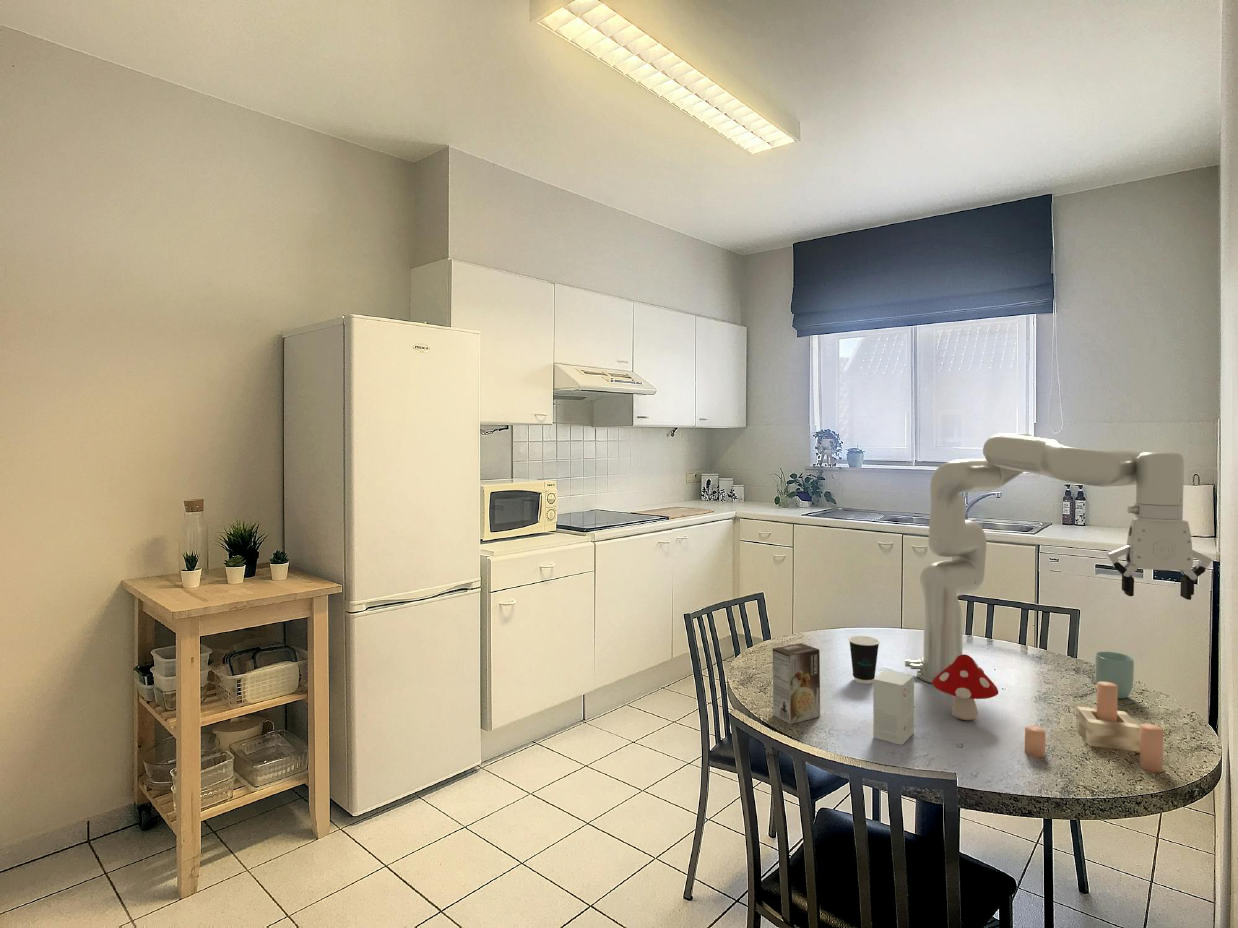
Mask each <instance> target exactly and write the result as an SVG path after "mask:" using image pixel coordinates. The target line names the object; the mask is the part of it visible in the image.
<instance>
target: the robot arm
mask: <svg viewBox="0 0 1238 928" xmlns="http://www.w3.org/2000/svg"><path fill="white" fill-rule="evenodd" d="M982 453H983V457H984V458H963V459H961V458H960V459H954V460H949V461H948V462H945V463H943V464H941V465H940V466H939V467H938V468H936V470H935V471H934V472H933V473H932V476H931V478H930V483H929V485H930V486H929V487H930V489H929V490H930V492H929V493H930V511H929V523H928V524H929V525H928V527H929V529H928V547H929V549H930V551H931V553H932V554H934V555H935V556H937V557H940V558H941V557H942V558H951V559H948V560H942V561H941V560H940V561H936V562H932V563H930V564H928V565H926V566H925V567H924V568H923V569H922V571H921V572H920V576H919V577H920V580H919V583H920V584H919V585H920V589H921V592H922V600H923V602H922V603H923V656H921V659H917V660H913V659H904V667H907V668H910V670H916V674H917V677H918V678H919V679H920V680H922V681H924V682H927V683H929V684H932V681H933V679H934V678H935V677H936V676H937V675H938V674H939V673H941V672H942V671H943V670H944V669H946V668H947V667H948V666H949V665H950V664H951V661H952V660H953V659H954V658H955V657H957V656H960V655H963V643H964V641H963V640H964V637H963V635H964V633H963V632H964V631H963V629H964V615H963V608H962V605H961V604H960V601H959V596H963V595H964V596H965V595H969V594H970V595H971V594H973V593H976V592H977V591H978V590H980V588H981V587H982V586H983V583H984V579H985V571H986V569H985V567H986V556H987V537H986V533H985V531H984V529H983V528H982V526H981V525H980V524H979V523H978V522H976V521H973V520H970V519H966V513H967V505H966V501H965V499H964V496H963V495H962V494H964V493H974V492H975V493H976V492H989V491H995V490H998V489H1000V488H1002V487H1003V486H1005V485H1006V484H1007V483H1009V482H1011V481H1012V480H1014V479H1016V478H1017V477H1019V476H1020V475H1022V474H1023V473H1024V472H1025V473H1027V474H1034V475H1041V476H1046V477H1048V478H1051V479H1055V480H1059V481H1063V482H1068V483H1074V484H1080V485H1086V486H1092V487H1098V488H1105V487H1106V488H1107V487H1123V486H1124V487H1125V486H1133V485H1134V486H1135V488H1136V490H1135V491H1136V493H1135V503H1134V505H1132V506H1128V507H1127V513H1128V514H1132V515H1134V516H1135V517H1133V518H1131V521H1130V525H1129V528H1128V533H1127V540H1126V545H1125V546H1122V547H1120V548H1118V549H1115V550H1113V551H1110V552H1108V553H1107V554H1106V557H1107V559H1108V560H1109V562H1110V563H1111V566H1112V567H1113V568H1114V569H1115V570H1116V571H1118V573H1120V574H1121V590H1122V592H1123V593H1124V594H1125V595H1126V596H1128V597H1133V596H1134V594H1135V578H1134V577H1133V574H1134V573H1135V572H1136V571H1138V569H1141V570H1151V571H1153V570H1154V571H1173V572H1180V573H1181V574H1182V575H1183V576H1181V577H1180V590H1179V591H1180V597H1182V598H1183V599H1185V600H1188V601H1192V596H1193V595H1195V581H1196V580H1197V579H1198V577H1199V576H1200V577H1201V575H1202V574H1204V573H1205V572H1206V569H1207V568H1208V567H1209V565H1210V564H1211V563H1212V560H1213V559H1212V558H1211V557H1209V556H1207V555H1204V554H1202V553H1201V552H1198V551H1196V550H1193V541H1192V535H1191V528H1190V524H1189V522H1188V520H1184V519H1183V517H1184V516H1183V515H1184V511H1183V510H1184V481H1185V479H1184V476H1185V459H1184V457H1183V455H1182V454H1181V453H1179V452H1174V451H1173V452H1172V451H1169V452H1168V451H1149V452H1148V451H1147V452H1141V451H1134V450H1094V449H1086V448H1085V449H1084V448H1079V447H1070V446H1066V445H1063V444H1062V443H1061V442H1060V441H1059V440H1057V439H1052V438H1044V437H1035V436H1033V435H1031V434H1028V433H1022V432H1019V433H1018V432H1017V433H1016V432H1014V433H1012V432H1011V433H1009V432H1007V433H1006V432H1004V433H997V434H994V435H992V436H991V437H989V438H988V439H987V440H986V441H985V443H984V445H983V448H982ZM1122 556H1125V560H1126V563H1125V565H1122V564H1121V562H1120V560H1119V558H1120V557H1122ZM1194 559H1196V560H1198V562H1197V565H1195V566H1194ZM1193 566H1194V567H1193Z"/></svg>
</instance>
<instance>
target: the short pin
mask: <svg viewBox="0 0 1238 928" xmlns="http://www.w3.org/2000/svg"><path fill="white" fill-rule="evenodd" d="M1024 753H1025V754H1026V755H1028V756H1030V757H1033V758H1041V759H1042V758H1044V757H1046V730H1045V729H1044V728H1042V727H1040V726H1037V725H1035V726H1034V725H1027V726H1024Z"/></svg>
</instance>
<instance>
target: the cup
mask: <svg viewBox="0 0 1238 928" xmlns="http://www.w3.org/2000/svg"><path fill="white" fill-rule="evenodd" d="M1094 656H1095V657H1094V661H1095V662H1094V678H1095V679H1094V680H1095V684H1096V686H1097V682H1110V683H1113V684H1116V685H1117V686H1118V698H1117V699H1125V698H1127V697H1129V696H1130V695H1131V693H1132V691H1133V686H1134V680H1135V679H1134V678H1135V677H1134V676H1135V675H1134V674H1135V661H1134V658H1133V657H1132V656H1130V655H1127V654H1124V653H1121V652H1116V651H1115V652H1114V651H1096V653H1095V655H1094Z"/></svg>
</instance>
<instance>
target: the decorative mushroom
mask: <svg viewBox="0 0 1238 928" xmlns="http://www.w3.org/2000/svg"><path fill="white" fill-rule="evenodd" d="M931 684H932V687H934V688H935V689H936V690H938V691H940V692H941V693H944V694H945V695H949V696H952V697H954V698H953V700H952V704H951V709H950V712H951V714H952V716H954V717H955V718H957V719H959V720H961V721H972V720H973V721H974V720H975V719H977V717H978V715H979V714H978V713H979V712H978V708H977V704H976V701H975V700H987V699H992V698H993V697H996V696H998V695H999V688H998V687H997V686H996V685H995V683H994V682H993V681H992V679H990V678H989V676H987V675H986V673H985V671H984V669H983V668H982V667H979V664H978V663H977V662H976V660H975V659H974V658H973V657H971V656H970V655H968V654H962V655H960V656H957V657H955V658H954V659H953V660H952V661H951V664H950V665H949V666H948V667H947V668H946V669H944V670H943V671H942V672H941V673H939V674H938V675H937V676H936V677H935V678H934V679H933V681H932V683H931Z"/></svg>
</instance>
